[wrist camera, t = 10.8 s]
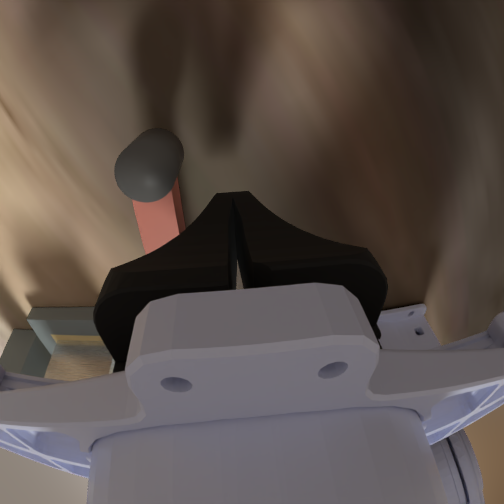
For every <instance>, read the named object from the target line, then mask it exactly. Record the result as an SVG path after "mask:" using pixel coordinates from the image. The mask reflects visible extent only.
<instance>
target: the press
mask: <svg viewBox="0 0 504 504" xmlns="http://www.w3.org/2000/svg"><path fill="white" fill-rule="evenodd" d="M94 308H95V307H53V308H32V309H31V311H30V313H29V315H28V317H27V319H26V320H27V321H28V323H29V324H30V326H31V327H32V329H33V330H23V329H13V332H12V334H11V336H10V338H9V340H8V342H7V344H6V346H5V349H4V351H3V353H2V355H1V358H0V364H1V365H2V367H3V368H4V369H5V371H6V372H12V373H17V374H23V375H28V376H35V377H41V378H44V376H45V373H46V370H47V367H48V364H49V362H50V359H51V356H52V353H53V351H54V348H55V345H56V343H57V340H80V341H102V339H101V337H100V335H99V334H98V332H97V330H96V327H95V324H94V322H93V311H94Z"/></svg>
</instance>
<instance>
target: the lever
mask: <svg viewBox="0 0 504 504" xmlns="http://www.w3.org/2000/svg"><path fill="white" fill-rule="evenodd" d="M183 158H184V150H183V146H182V144H181V142H180V140H179V139H178V137H177V136H176V135H174V134H173V133H172V132H170V131H168V130H165V129H161V128H154V129H149V130H147V131H145V132H143V133H142V134H140V135H139V136H138V137H137V138H136V139H135V140H134V141H133V142H132V143H131V144H130V145H129V146H128V147H127V148H125V149H124V150H123V151H122V152H121V154H120V155H119V157H118V158H117V161H116V164H115V170H114V171H115V179H116V182H117V184H118V186H119V188H120V189H121V191H122V192H123V193H124V194H125V195H126V196H128V197H129V198H131V199H132V201H133V206H134V210H135V214H136V218H137V222H138V226H139V230H140V234H141V238H142V242H143V245H144V249H145V253H146V254H148V253H150V252H152V251H154V250H156V249H158V248H160V247H161V246H163V245H164V244H166V243H167V242H169V241H170V240H172V239H174V238H175V237H176V236H178V235H179V234H180V233H181V232H183V231H184V230H185V229H186V228H185V222H184V216H183V210H182V203H181V197H180V191H179V184H178V177H177V175H178V173H179V170H180V167H181V165H182V162H183Z"/></svg>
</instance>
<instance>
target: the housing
mask: <svg viewBox="0 0 504 504" xmlns="http://www.w3.org/2000/svg"><path fill="white" fill-rule="evenodd" d="M114 364H115V361H114V359H113V358H112V356H111V354H110V353H109V351H108V349H107V348H106V346H105V344H104V342H103V341H80V340H57V343H56V345H55V348H54V351H53V353H52V356H51V359H50V362H49V364H48V367H47V370H46V373H45V376H44V378H48V379H56V380H64V381H75V380H81V379H86V378H91V377H96V376H101V375H106V374H111V373H113V369H114Z"/></svg>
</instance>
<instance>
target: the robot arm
mask: <svg viewBox="0 0 504 504" xmlns="http://www.w3.org/2000/svg"><path fill="white" fill-rule="evenodd" d="M237 259H238V264H239V269H240V274H241V278H242V283H243V288H244V289H239V290H236V276H237ZM387 290H388V284H387V278H386V276H385V275H384V273H383V271H382V270H381V268H380V266H379V265H378V263H377V261H376V260H375V258H374V257H373V255H372V254H371V253H370V251H369V250H368V249H367V248H362V247H357V246H352V245H346V244H341V243H338V242H334V241H331V240H327V239H324V238H321V237H318V236H315V235H313V234H310V233H308V232H305V231H303V230H301V229H299V228H297V227H295V226H293V225H291V224H289V223H287V222H286V221H284V220H282V219H281V218H279V217H278V216H277V215H275V214H274V213H272V212H271V211H270V210H268V209H267V208H266V207H265V206H264V205H263V204H261V203H260V202H259V201H258V200H257V199H256V198H255V197H254V196H253V195H252V194H251V193H250V192H249V191H242V192H228V193H216V194H215V196H214V197H213V198H212V200H211V201H210V202H209V204H208V205H207V207H206V208H205V209H204V210H203V212H202V213H201V214H200V215H199V216H198V217H197V219H196V220H195V221H194V222H193V223H192V224H191V225H190V226H189V227H187V228H186V229H185V230H184V231H183V232H181V233H180V234H179V235H178V236H176V237H175V238H174V239H172V240H170V241H169V242H167V243H166V244H164V245H163V246H161V247H160V248H158V249H156V250H154V251H152V252H150V253H148V254H146V255H144V256H142V257H140V258H138V259H136V260H133V261H130V262H128V263H125V264H123V265H120V266H117V267H114V268H111V270H110V272H109V274H108V276H107V278H106V280H105V282H104V284H103V287H102V289H101V292H100V295H99V297H98V300H97V303H96V305H95V308H94V311H93V322H94V324H95V327H96V330H97V332H98V334H99V335H100V337H101V339H102V341H103V342H104V344H105V346H106V348H107V349H108V351H109V353H110V354H111V356H112V358H113V359H114V361H115V364H114V369H113V373H111V374H106V375H101V376H96V377H91V378H86V379H81V380H75V381H64V380H56V379H48V378H41V377H35V376H28V375H23V374H17V373H12V372H6V371H5V369H4V368H3V367H2V365H1V364H0V447H1V448H3V449H6V450H8V451H11V452H13V453H15V454H18V455H20V456H23V457H26V458H28V459H31V460H33V461H36V462H39V463H41V464H44V465H47V466H50V467H53V468H56V469H59V470H62V471H65V472H68V473H71V474H75V475H78V476H81V477H85V478H89V481H88V492H87V504H485V501H484V496H483V491H482V490H483V481H482V476H481V472H480V468H479V465H478V462H477V459H476V456H475V454H474V451H473V448H472V446H471V443H470V441H469V439H468V437H467V435H466V433H465V431H464V430H463V428H464V427H466V426H468V425H469V424H471V423H473V422H475V421H476V420H478V419H480V418H481V417H483V416H484V415H486V414H488V413H490V412H491V411H493V410H494V409H496V408H497V407H499V406H501V405H502V404H504V311H503V312H501V313H499V314H498V315H497V316H495V318H494V319H493V320H492V322H491V323H490V325H489V327H488V329H487V331H484V332H482V333H479V334H476V335H473V336H470V337H467V338H464V339H462V340H458V341H455V342H452V343H449V344H446V345H443V346H441V345H440V343H439V341H438V339H437V337H436V336H435V334H434V332H433V331H432V329H431V327H430V325H429V324H428V322H427V320H426V319H425V317H424V314H425V312H426V309H427V308H426V306H425V304H417V305H412V306H407V307H402V308H396V309H391V310H385V311H382V308H383V305H384V302H385V299H386V295H387Z"/></svg>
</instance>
